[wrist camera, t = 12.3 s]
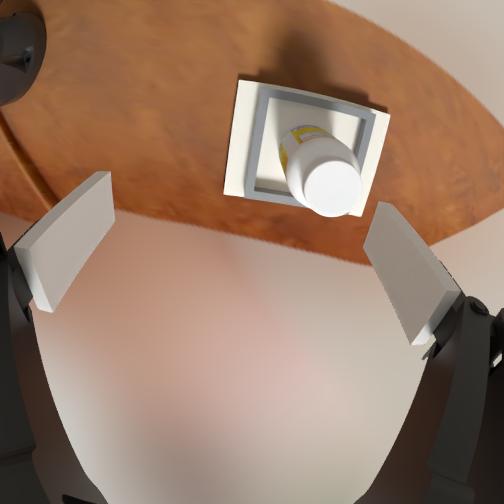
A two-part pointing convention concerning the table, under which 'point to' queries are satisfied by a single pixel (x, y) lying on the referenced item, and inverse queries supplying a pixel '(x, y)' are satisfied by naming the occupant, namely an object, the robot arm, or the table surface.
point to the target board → (281, 122)
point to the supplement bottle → (320, 171)
